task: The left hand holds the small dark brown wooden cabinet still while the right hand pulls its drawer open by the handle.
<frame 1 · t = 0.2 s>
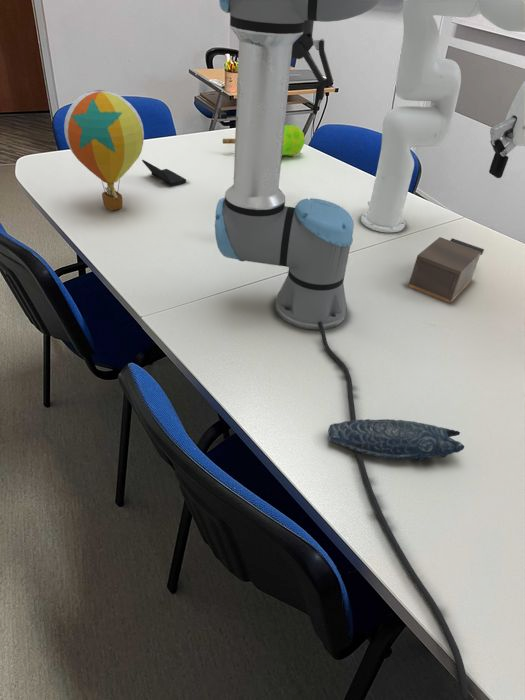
left hand: (289, 109, 135), 28 cm above the table, tool pointing down, fingers open, 13 cm apart
right hand: (517, 175, 98), 31 cm above the table, tool pointing down, fingers open, 9 cm apart
cabinet: (439, 284, 126), on the table
black angular piece: (164, 180, 164), on the table
pill bottle: (235, 239, 136), on the table
fish model: (390, 447, 84), on the table
drawer: (453, 261, 127), point 4 cm above the table, slide at 0.6 cm
toy: (113, 208, 145), on the table
decorative tree: (263, 155, 189), on the table
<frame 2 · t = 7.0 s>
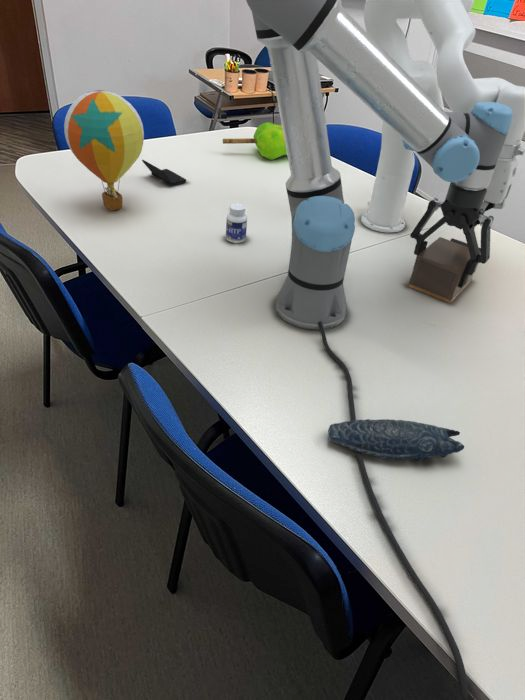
left hand: (438, 276, 122), 4 cm above the table, tool pointing down, fingers closed on cabinet, 11 cm apart
right hand: (472, 225, 126), 12 cm above the table, tool pointing down, fingers closed
cabinet: (439, 284, 126), on the table, touching left hand
everything else where it was.
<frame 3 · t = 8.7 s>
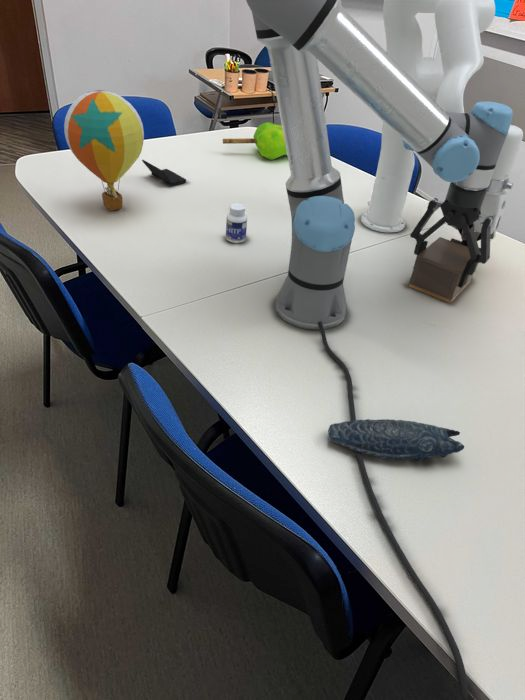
left hand: (439, 276, 122), 4 cm above the table, tool pointing down, fingers closed on cabinet, 10 cm apart
right hand: (464, 254, 130), 4 cm above the table, tool pointing down, fingers closed
cabinet: (439, 284, 126), on the table, touching left hand
drawer: (453, 260, 127), point 4 cm above the table, slide at 0.6 cm, touching right hand
everything else where it was.
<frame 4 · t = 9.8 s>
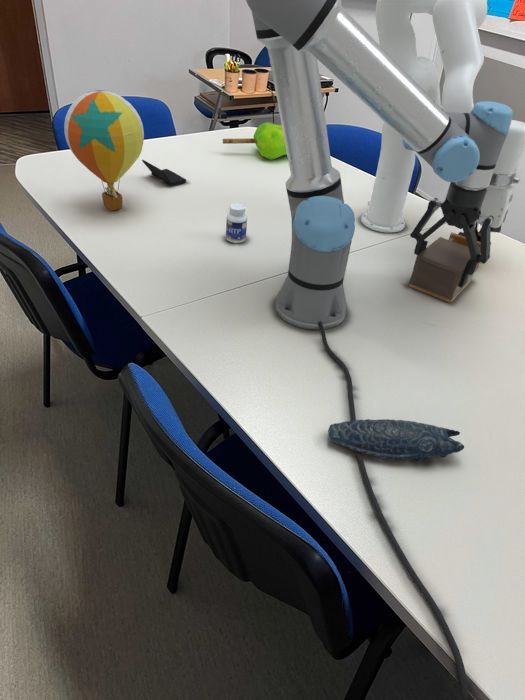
left hand: (439, 276, 122), 4 cm above the table, tool pointing down, fingers closed on cabinet, 11 cm apart
right hand: (472, 247, 134), 4 cm above the table, tool pointing down, fingers closed
cabinet: (439, 283, 126), on the table, touching left hand
drawer: (461, 253, 131), point 4 cm above the table, slide at 6.1 cm, touching right hand
everything else where it was.
when the left hand's fingers open (4 cm above the table, at t = 11.5 s): cabinet stays where it is, on the table.
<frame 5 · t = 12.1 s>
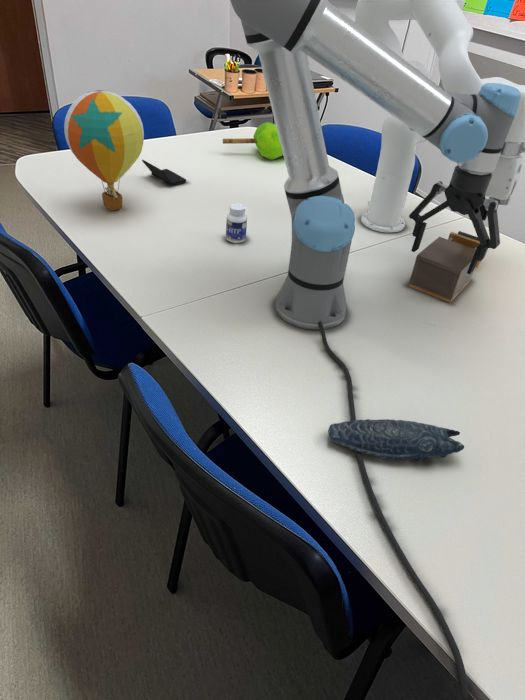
left hand: (441, 260, 119), 8 cm above the table, tool pointing down, fingers open, 13 cm apart
right hand: (478, 221, 129), 11 cm above the table, tool pointing down, fingers closed
cabinet: (439, 283, 126), on the table
drawer: (461, 252, 131), point 4 cm above the table, slide at 6.2 cm
everything else where it was.
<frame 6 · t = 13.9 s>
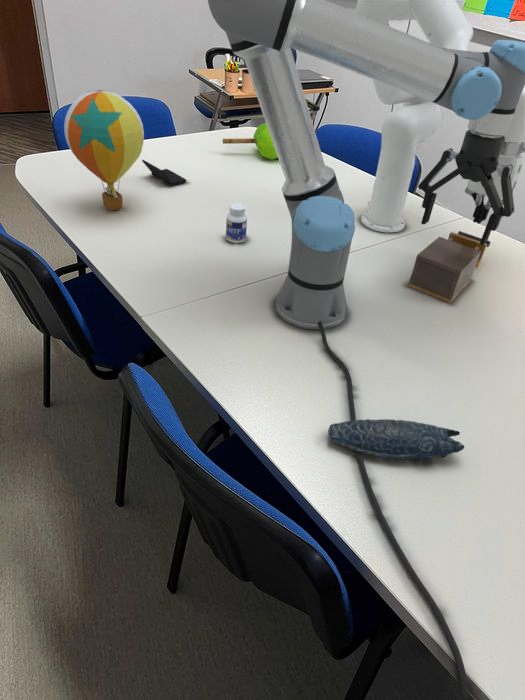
left hand: (453, 232, 115), 15 cm above the table, tool pointing down, fingers open, 13 cm apart
right hand: (478, 221, 129), 11 cm above the table, tool pointing down, fingers closed
nothing on the table moved.
at the end: drawer slide at 6.2 cm; cabinet tilted 0°; cabinet never tilted more than 1° during the clip; cabinet moved 0.2 cm from its start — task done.
